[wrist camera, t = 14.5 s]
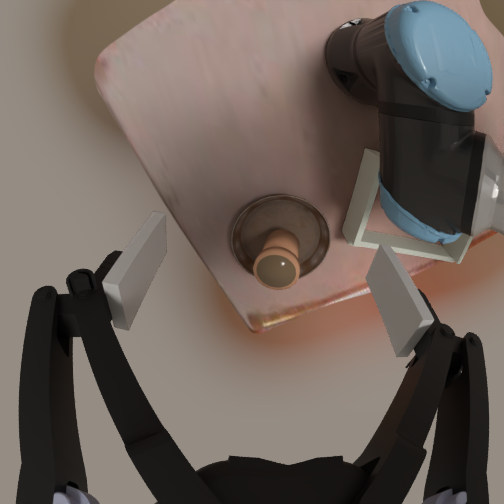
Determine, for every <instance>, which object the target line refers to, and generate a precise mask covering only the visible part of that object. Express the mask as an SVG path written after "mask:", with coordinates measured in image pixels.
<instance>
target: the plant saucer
mask: <svg viewBox="0 0 504 504" xmlns="http://www.w3.org/2000/svg"><path fill="white" fill-rule="evenodd" d="M279 229H283V230H288V231H290V232H292V233H294V234H295V235H296V236H297V238H298V240H299V243H300V249H299V256H298V260H299V262H300V273H299V278H298V279H300V278H302V277H304V276H306V275H308V274H310V273H311V272H312V271H314V270H315V269H316V268H317V267H318V266H319V265H320V264H321V263H322V261H323V260H324V258H325V257H326V255H327V253H328V250H329V247H330V241H331V233H330V228H329V224H328V222H327V220H326V218H325V216H324V215H323V214H322V212H321V211H320V210H319V209H318V208H317V207H316V206H314V205H313V204H311V203H310V202H308V201H306V200H304V199H302V198H299V197H295V196H289V195H276V196H270V197H266V198H263V199H261V200H258V201H256V202H255V203H253V204H251V205H250V206H249V207H247V208H246V209H245V210H244V211H243V212H242V213H241V214H240V216H239V217H238V219H237V220H236V222H235V224H234V227H233V230H232V234H231V246H232V250H233V253H234V256H235V258H236V260H237V261H238V263H239V264H240V265H241V266H242V268H244V269H245V270H246V271H247V272H248V273H250V274H251V275H253V276H255V275H254V272H253V266H254V263H255V260H256V258H257V256H258V254H259V253H260V252H261V251H262V250H263V247H264V244H265V241H266V238H267V237H268V235H269V234H270V233H271V232H273V231H275V230H279Z"/></svg>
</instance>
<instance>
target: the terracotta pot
mask: <svg viewBox="0 0 504 504" xmlns="http://www.w3.org/2000/svg"><path fill="white" fill-rule="evenodd" d="M299 249H300V243H299V240H298V238H297V236H296V235H295V234H294V233H292V232H290V231H288V230H283V229H279V230H275V231H273V232H271V233H270V234H269V235H268V237H267V238H266V241H265V244H264V247H263V250H262V251H261V252H260V253H259V254H258V256H257V258H256V260H255V263H254V266H253V272H254V275H255V277H256V279H257V280H258V281H259V282H260V283H261V284H262V285H263V286H265V287H267V288H270V289H274V290H283V289H287V288H289V287H291V286H293V285H294V284H295V283H296V282H297V280H298V278H299V273H300V262H299V260H298V256H299Z"/></svg>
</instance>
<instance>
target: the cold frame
mask: <svg viewBox="0 0 504 504" xmlns="http://www.w3.org/2000/svg"><path fill="white" fill-rule="evenodd" d="M379 170H380V152H378V151H375V150H371V149H367V148H365V150H364V154H363V158H362V161H361V165H360V169H359V173H358V177H357V180H356V184H355V187H354V191H353V195H352V198H351V201H350V205H349V208H348V212H347V215H346V218H345V221H344V225H343V228H342V232H343V234H344V236H345V239H346V241H347V243H348V245H353V246H358V247H359V246H361V247H367V248H373V249H378V247H379V245H380V244H386V245H390V246H391V248H392V249H393V251H394V252H397V253H403V254H409V255H414V256H420V257H426V258H431V259H437V260H443V261H448V262H454V261H456V263H457V264H460V263H461V261H462V259H463V257H464V255H465V253H466V251H467V249H468V247H469V245H470V243H471V241H472V239H473V237H472V236H469V235H467V234H464V233H462V235H461V236H460V237H459V238H458V239H457V240H456V241H454V242H452V243H447V244H442V245H438V244H434V243H429V242H425V241H420V240H415V239H410V238H405V237H400V236H395V235H390V234H385V233H380V232H375V231H369V230H365V227H366V224H367V221H368V218H369V215H370V212H371V209H372V206H373V203H374V200H375V197H376V194H377V190H378V187H379V184H380V183H379V179H378V172H379Z"/></svg>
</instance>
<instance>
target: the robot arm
mask: <svg viewBox="0 0 504 504" xmlns="http://www.w3.org/2000/svg"><path fill="white" fill-rule="evenodd" d="M326 63H327V67H328V70H329V72H330V75H331V76H332V78H333V80H334V81H335V83H336V84H337V85H338V87H339V88H340V89H341V90H342V91H343V92H344V93H346V94H347V95H348V96H350V97H351V98H353V99H355V100H357V101H359V102H362V103H365V104H369V105H375V106H378V110H379V111H378V114H379V142H380V170H379V172H378V179H379V183H380V202H381V206H382V208H383V210H384V211H385V214H386V216H387V217H388V218H389V219H390V221H391V222H392V223H394V224H395V225H396V226H397V227H398V228H400V229H401V230H403V231H404V232H406V233H408V234H409V235H411V236H413V237H416V238H418V239H421V240H424V241H427V242H431V243H436V242H437V241H439V242H441V243H442V244H447V243H452V242H454V241H456V240H457V239H458V238H459V237H460V236H461V235H462V233H464V234H467V235H469V236H472V237H474V236H476V235H478V234H480V233H481V232H483V231H485V230H488V229H491V230H493V231H496V232H498V233H501V234H503V235H504V153H502V152H501V151H500V150H499V149H498V147H497V146H496V144H495V143H494V141H493V140H492V138H491V137H490V135H487V134H484V133H481V132H477V131H475V130H474V110H475V109H477V108H479V107H481V106H482V105H483V104H484V103H485V102H486V100H487V98H486V95H489V94H490V93H491V89H492V80H493V76H492V67H491V63H490V59H489V56H488V53H487V51H486V49H485V47H484V45H483V43H482V41H481V39H480V38H479V36H478V35H477V33H476V32H475V31H474V30H472V29H471V28H470V26H469V25H468V23H467V22H466V21H465V20H464V19H463V18H462V17H461V16H460V15H458V14H457V13H456V12H454V11H453V10H451V9H449V8H448V7H446V6H444V5H441V4H439V3H435V2H431V1H424V0H422V1H414V2H410V3H406V4H402V5H397V6H395V7H393V8H392V9H391V10H389V11H388V12H386V13H384V14H383V15H381V16H379V17H377V18H375V19H368V18H361V19H355V20H351V21H348V22H346V23H344V24H343V25H341V26H340V27H339V28H337V29H336V30H335V31H334V32H333V34H332V35H331V37H330V38H329V40H328V43H327V47H326ZM166 252H167V249H166V213H164V212H155V211H154V212H153V213H152V214H151V216H150V217H149V218H148V219H147V220H146V222H145V223H144V224H143V226H142V227H141V228H140V230H139V231H138V232H137V233H136V235H135V236H134V238H133V239H132V240H131V242H130V243H129V244H128V246H127V247H126V248H125V250H124V251H123V252H122V251H114V252H112V253H111V254H109V255H108V256H107V257H106V258H105V260H104V261H103V263H102V264H101V265H100V267H99V268H98V269H97V271H96V272H95V273H93V272H92V271H91V270H88V269H78V270H76V271H73V272H72V273H71V274H69V275H68V277H67V279H66V284H67V287H68V290H69V293H70V294H58V293H57V291H56V289H55V288H54V287H52V286H44V287H41V288H39V289H38V290H37V291H36V292H35V293H34V295H33V297H32V302H31V306H30V311H29V316H28V321H27V326H26V332H25V339H24V345H23V353H22V362H21V372H20V386H19V438H20V451H21V461H22V464H21V469H20V475H19V481H18V489H17V497H16V504H99V502H98V501H97V500H96V499H95V498H94V497H93V496H92V495H90V494H88V488H87V478H86V473H85V467H84V462H83V457H82V452H81V446H80V441H79V434H78V427H77V419H76V409H75V398H74V384H73V337H81V338H82V341H83V344H84V347H85V351H86V353H87V357H88V360H89V362H90V365H91V368H92V371H93V374H94V377H95V379H96V382H97V384H98V387H99V389H100V392H101V394H102V397H103V399H104V401H105V404H106V406H107V408H108V411H109V413H110V415H111V417H112V419H113V422H114V423H115V426H116V428H117V430H118V432H119V434H120V435H121V438H122V440H123V442H124V444H125V448H126V451H127V453H128V455H129V457H130V458H131V460H132V462H133V464H134V465H135V467H136V469H137V470H138V472H139V474H140V475H141V477H142V479H143V480H144V482H145V483H146V485H147V486H148V488H149V489H150V491H151V492H152V494H153V495H154V497H155V498H156V500H157V501H158V502H156V503H155V504H402V502H403V501H404V499H405V497H406V495H407V493H408V492H409V490H410V488H411V486H412V484H413V482H414V480H415V478H416V476H417V474H418V472H419V470H420V468H421V466H422V463H423V461H424V459H425V457H426V453H427V452H426V450H425V449H424V448H423V445H424V442H425V440H426V438H427V435H428V432H429V430H430V428H431V425H432V422H433V419H434V416H435V414H436V411H437V408H438V412H437V422H436V430H435V437H434V444H433V450H432V455H431V460H430V466H429V470H428V475H427V479H426V484H425V489H424V498H423V503H422V504H489V494H488V483H487V474H486V471H487V461H488V447H489V445H488V444H489V402H488V387H487V376H486V368H485V360H484V354H483V347H482V343H481V340H480V339H479V337H478V336H477V335H476V334H474V333H471V332H469V333H467V334H466V335H465V336H464V338H460V337H457V336H455V333H454V331H453V330H452V329H451V328H450V327H449V326H448V325H446V324H442V323H440V321H439V319H438V317H437V315H436V313H435V312H434V310H433V308H431V304H430V303H429V301H428V299H427V297H426V296H425V294H424V293H422V292H421V291H420V289H417V288H416V286H415V284H414V283H413V281H412V279H411V278H410V276H409V274H408V273H407V271H406V269H405V268H404V266H403V265H402V263H401V261H400V260H399V258H398V257H397V255H396V254H395V252H394V251H393V249H392V248H391V246H390V245H386V244H380V245H379V247H378V250H377V252H376V255H375V257H374V259H373V262H372V264H371V267H370V269H369V271H368V274H367V276H366V281H367V283H368V285H369V287H370V290H371V292H372V294H373V297H374V299H375V302H376V304H377V307H378V309H379V312H380V314H381V316H382V319H383V322H384V324H385V327H386V329H387V332H388V335H389V337H390V340H391V343H392V345H393V348H394V351H395V354H396V357H407V356H408V355H409V354H410V353H411V352H412V350H413V349H414V351H415V353H416V355H415V356H414V357H413V359H412V360H411V361H410V362H409V363H408V365H407V366H406V368H408V366H409V368H408V370H407V372H406V374H405V377H404V379H403V381H402V384H401V385H400V387H399V390H398V391H397V394H396V396H395V398H394V399H393V401H392V403H391V405H390V407H389V409H388V411H387V413H386V415H385V416H384V418H383V420H382V422H381V424H380V426H379V427H378V429H377V430H376V432H375V434H374V436H373V437H372V439H371V440H370V442H369V444H368V445H367V447H366V448H365V450H364V452H363V453H362V454H361V456H360V457H359V458H358V459H357V460H356V461H355V462H354V463H353V464H351V463H348V462H344V461H343V456H333V457H320V458H314V459H311V460H307V461H304V462H300V463H296V464H292V465H285V464H281V463H276V462H272V461H269V460H265V459H261V458H252V457H238V456H229V458H228V460H226V461H220V462H216V463H212V464H209V465H207V466H205V467H202V468H200V469H199V470H197V471H195V470H194V469H193V467H192V466H191V464H190V463H189V462H188V460H187V459H186V458H185V456H184V455H183V453H182V452H181V451H180V449H179V448H178V446H177V445H176V443H175V442H174V440H173V439H172V437H171V436H170V434H169V433H168V431H167V430H166V429H165V428H164V427H163V425H162V424H161V422H160V421H159V419H158V417H157V415H156V414H155V412H154V410H153V409H152V407H151V405H150V403H149V402H148V400H147V398H146V396H145V394H144V393H143V391H142V389H141V387H140V385H139V383H138V381H137V380H136V377H135V375H134V373H133V372H132V369H131V367H130V366H129V363H128V361H127V359H126V357H125V355H124V353H123V351H122V349H121V347H120V344H119V342H118V339H117V337H116V335H115V332H114V330H113V328H112V325H111V323H110V322H111V320H113V324H114V327H116V328H120V329H124V330H129V329H130V327H131V325H132V323H133V320H134V318H135V316H136V314H137V312H138V309H139V307H140V305H141V303H142V301H143V299H144V297H145V295H146V292H147V290H148V288H149V286H150V284H151V282H152V280H153V278H154V276H155V274H156V272H157V270H158V268H159V266H160V264H161V262H162V260H163V258H164V256H165V254H166ZM461 371H462V373H461Z"/></svg>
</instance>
